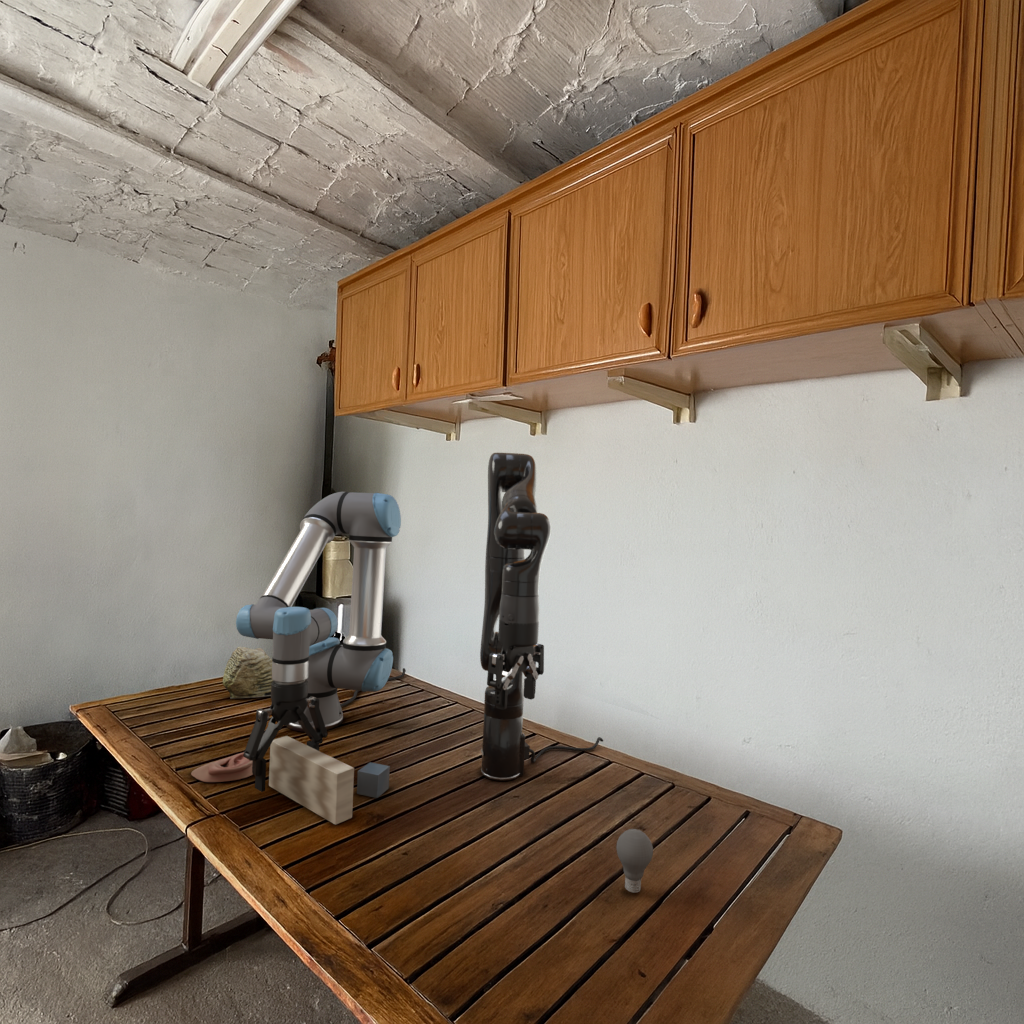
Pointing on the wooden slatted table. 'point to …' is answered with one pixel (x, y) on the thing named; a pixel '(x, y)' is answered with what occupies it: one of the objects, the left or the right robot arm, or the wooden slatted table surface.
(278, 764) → the ash block
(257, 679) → the fossil
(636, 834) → the light bulb
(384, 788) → the slate cube
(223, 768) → the anatomical model
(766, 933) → the wooden slatted table surface
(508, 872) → the wooden slatted table surface
